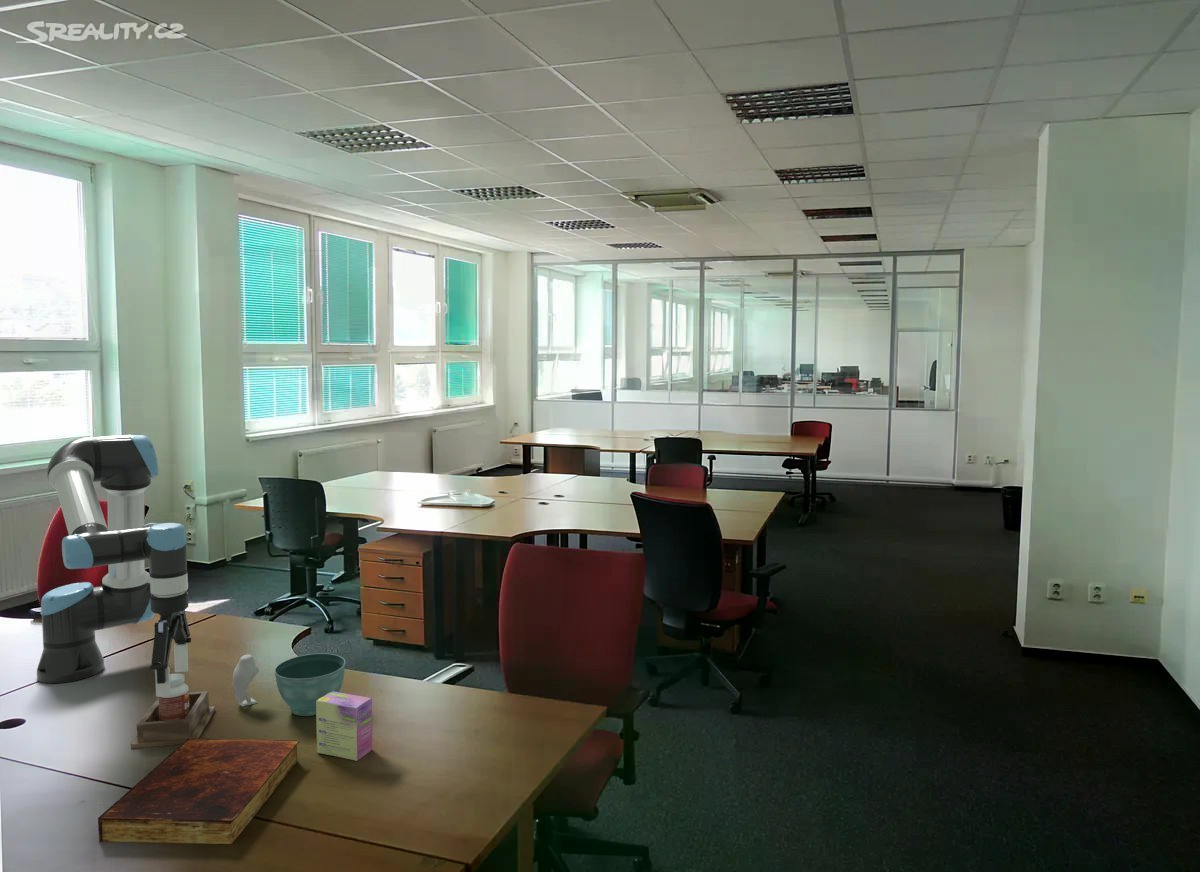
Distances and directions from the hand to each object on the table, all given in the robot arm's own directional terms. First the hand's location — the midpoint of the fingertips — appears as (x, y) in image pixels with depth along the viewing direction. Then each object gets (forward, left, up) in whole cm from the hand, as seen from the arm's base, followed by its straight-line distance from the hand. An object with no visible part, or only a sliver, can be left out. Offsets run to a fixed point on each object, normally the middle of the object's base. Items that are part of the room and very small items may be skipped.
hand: (172, 683), depth 183 cm
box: (+19, +39, -11) cm, 45 cm away
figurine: (-11, +13, -11) cm, 20 cm away
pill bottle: (0, 0, -10) cm, 10 cm away
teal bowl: (-5, +29, -11) cm, 31 cm away
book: (+33, +15, -11) cm, 38 cm away
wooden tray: (0, 0, -11) cm, 11 cm away
